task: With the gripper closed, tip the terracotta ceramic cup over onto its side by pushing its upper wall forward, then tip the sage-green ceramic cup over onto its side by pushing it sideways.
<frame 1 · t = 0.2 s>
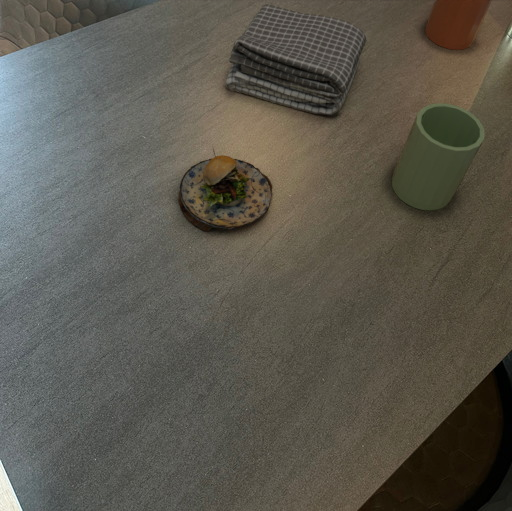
terracotta cup: (448, 34, 108), on the table
burger: (225, 200, 80), on the table
towel: (292, 77, 96), on the table
sage cup: (421, 187, 85), on the table
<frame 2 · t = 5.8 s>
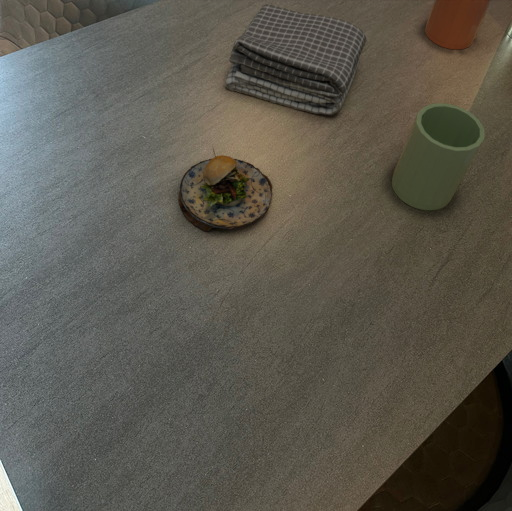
terracotta cup: (449, 34, 108), on the table, touching gripper
everything else where it was.
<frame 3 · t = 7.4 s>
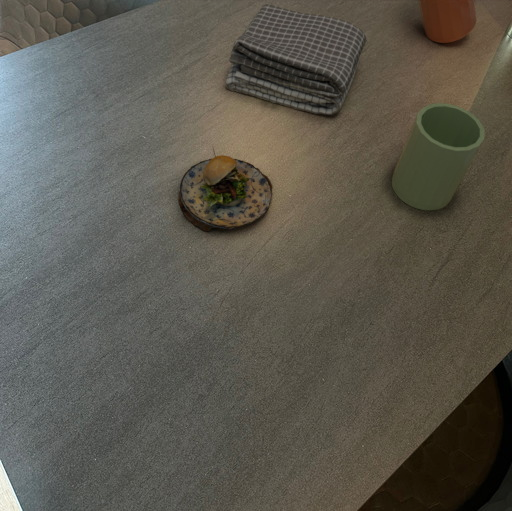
terracotta cup: (450, 24, 106), point 2 cm above the table, tilted 28°, touching gripper
everything else where it was.
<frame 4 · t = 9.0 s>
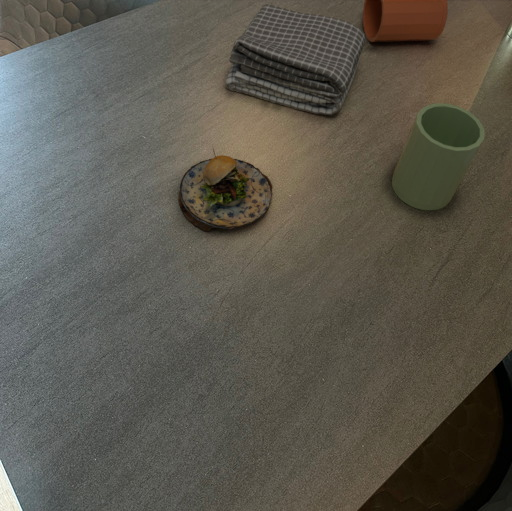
terracotta cup: (434, 13, 104), point 4 cm above the table, tilted 90°
everything else where it was.
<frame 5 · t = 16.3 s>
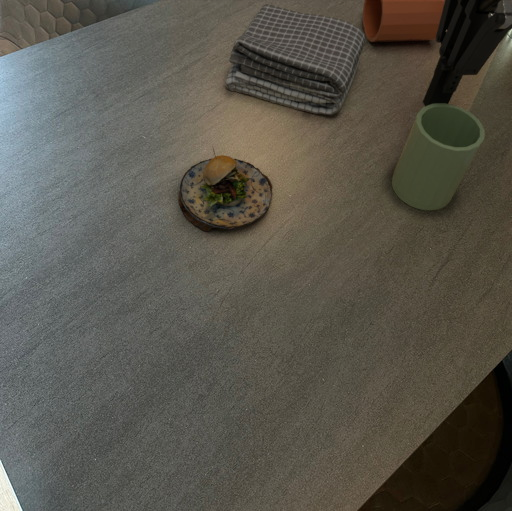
hand: (434, 105, 80), 10 cm above the table, tool pointing down, fingers closed
sage cup: (421, 187, 85), on the table, touching gripper
everything else where it was.
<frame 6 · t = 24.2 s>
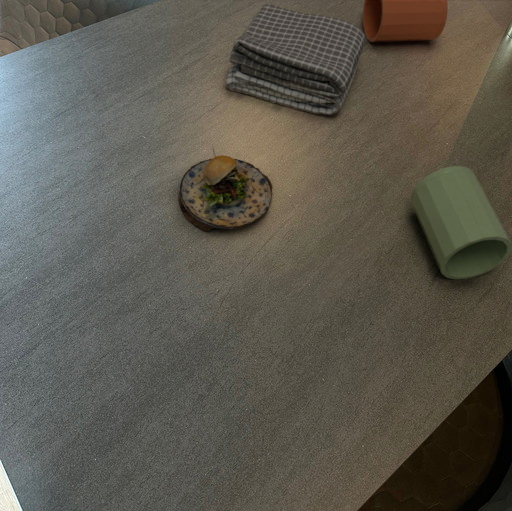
sage cup: (443, 189, 79), point 4 cm above the table, tilted 90°
everything else where it was.
at the end: terracotta cup tilted 90°; sage cup tilted 90° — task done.
